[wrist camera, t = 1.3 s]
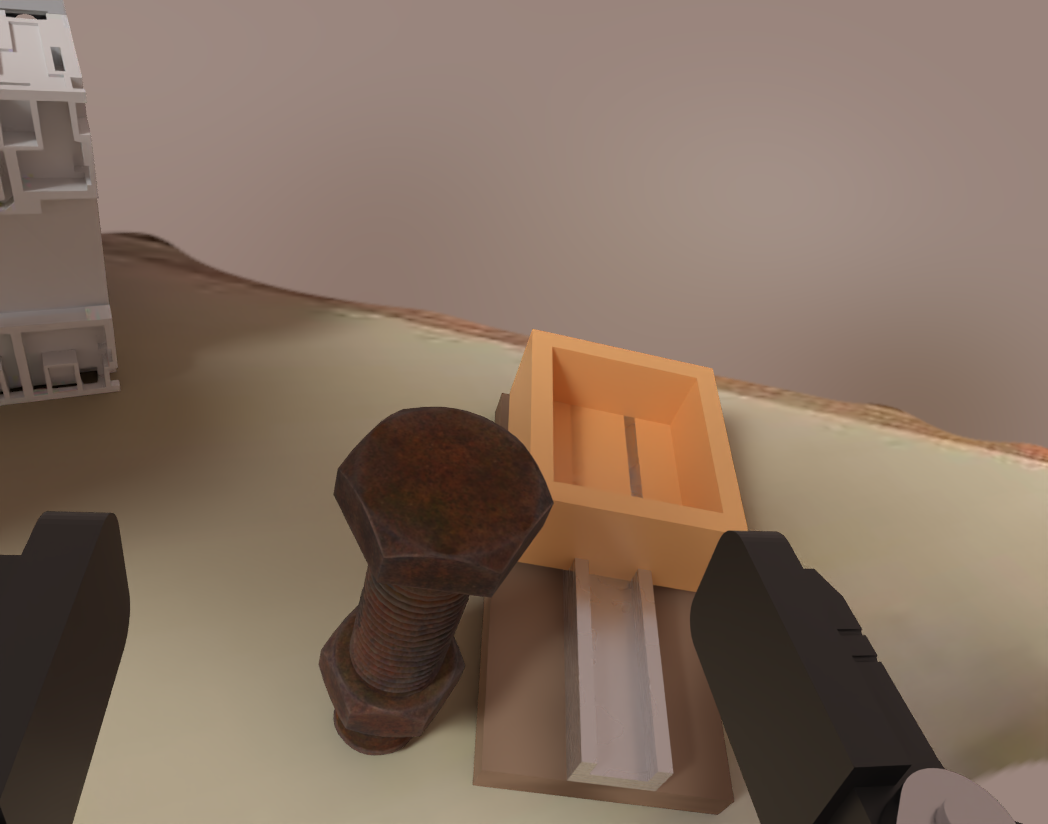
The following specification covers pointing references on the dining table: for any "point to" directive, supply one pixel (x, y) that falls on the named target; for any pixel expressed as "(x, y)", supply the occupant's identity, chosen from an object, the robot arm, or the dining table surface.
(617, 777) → the rail
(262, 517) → the dining table surface
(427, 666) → the bolt
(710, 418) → the orange open box
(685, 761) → the rail board
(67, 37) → the circuit breaker
